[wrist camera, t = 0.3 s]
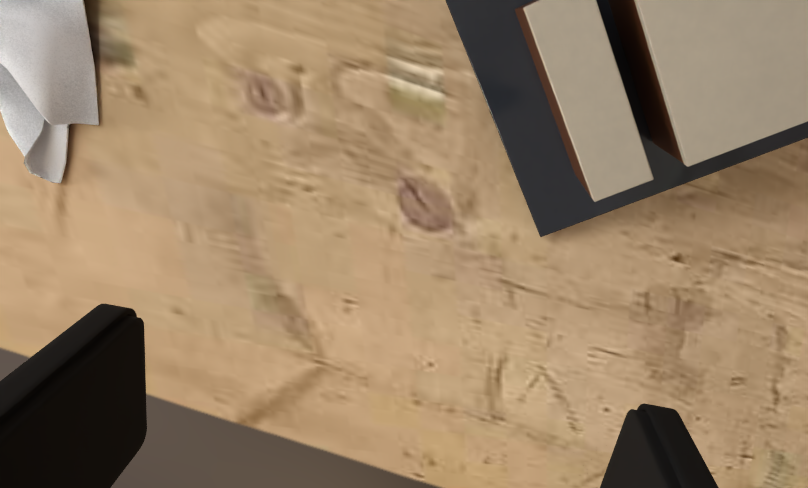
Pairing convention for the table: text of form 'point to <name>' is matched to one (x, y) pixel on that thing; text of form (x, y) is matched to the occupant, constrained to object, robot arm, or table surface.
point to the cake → (716, 70)
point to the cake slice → (585, 94)
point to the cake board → (537, 130)
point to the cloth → (45, 79)
